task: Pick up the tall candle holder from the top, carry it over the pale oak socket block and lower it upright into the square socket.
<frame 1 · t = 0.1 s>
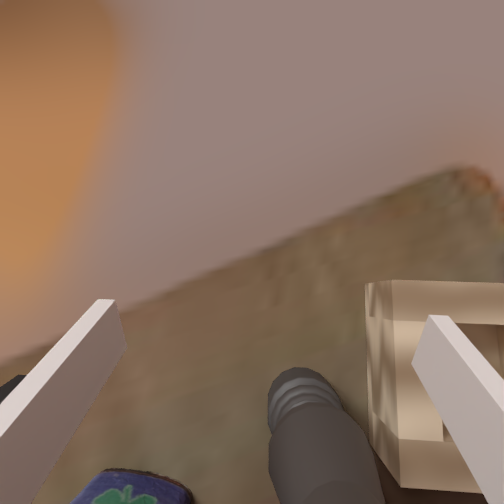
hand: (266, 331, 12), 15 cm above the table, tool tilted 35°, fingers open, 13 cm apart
candle holder: (300, 401, 26), on the table
socket block: (445, 363, 26), on the table
flask: (144, 487, 26), on the table
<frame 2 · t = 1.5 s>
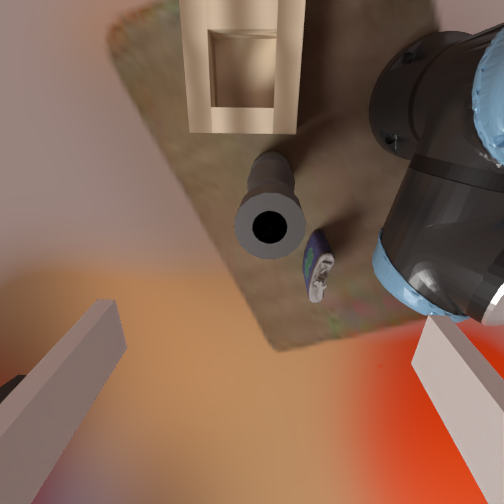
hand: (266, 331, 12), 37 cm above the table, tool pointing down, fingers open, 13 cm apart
candle holder: (271, 171, 45), on the table
socket block: (246, 76, 39), on the table
flask: (312, 252, 51), on the table
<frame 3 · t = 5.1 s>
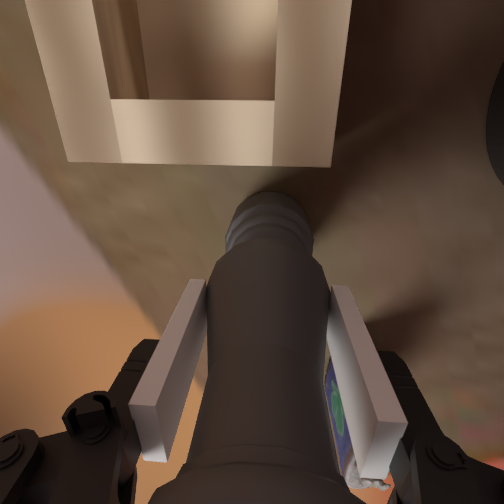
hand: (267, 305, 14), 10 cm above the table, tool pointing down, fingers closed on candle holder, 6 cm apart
candle holder: (269, 228, 23), on the table, touching gripper
socket block: (210, 28, 17), on the table
flask: (342, 360, 29), on the table
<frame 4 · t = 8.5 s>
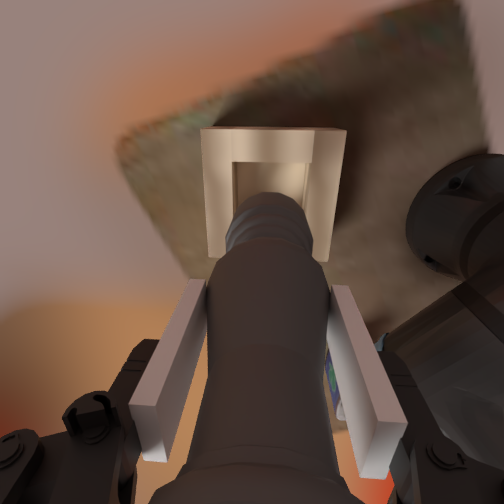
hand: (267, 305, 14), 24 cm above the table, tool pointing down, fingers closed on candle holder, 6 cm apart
candle holder: (269, 228, 23), point 14 cm above the table, touching gripper
socket block: (270, 187, 36), on the table
flask: (336, 350, 47), on the table
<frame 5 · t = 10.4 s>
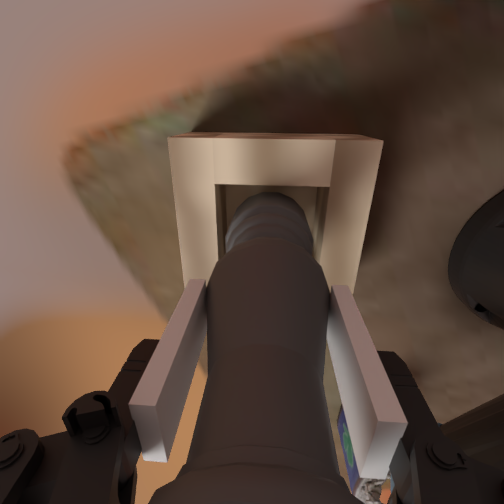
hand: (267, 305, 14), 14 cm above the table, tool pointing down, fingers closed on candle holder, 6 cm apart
candle holder: (269, 228, 23), point 4 cm above the table, touching gripper
socket block: (270, 213, 27), on the table
flask: (351, 406, 38), on the table
when the fingers open (12 cm above the table, at t = 12.1 s): candle holder drops 1 cm, resting on socket block.
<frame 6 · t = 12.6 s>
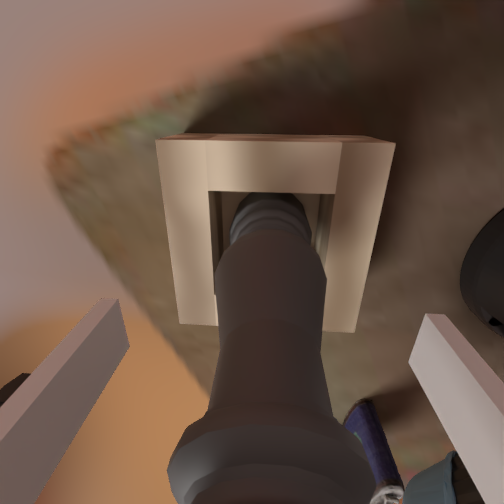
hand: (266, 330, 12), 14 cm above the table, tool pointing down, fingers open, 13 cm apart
candle holder: (270, 222, 24), point 1 cm above the table, touching socket block
socket block: (269, 220, 25), on the table
flask: (354, 420, 37), on the table
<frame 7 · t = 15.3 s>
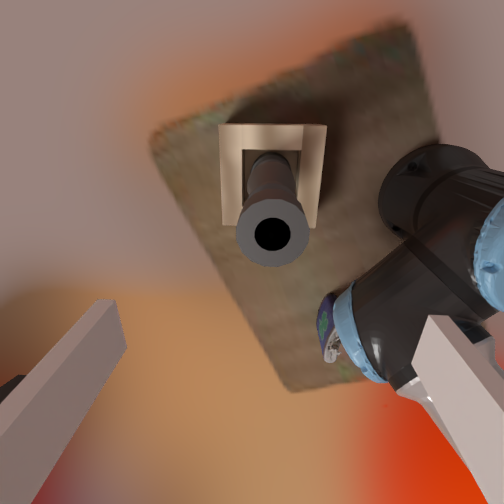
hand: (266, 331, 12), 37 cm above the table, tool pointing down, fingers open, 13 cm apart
candle holder: (270, 172, 44), point 1 cm above the table, touching socket block
socket block: (270, 171, 45), on the table
flask: (325, 310, 57), on the table
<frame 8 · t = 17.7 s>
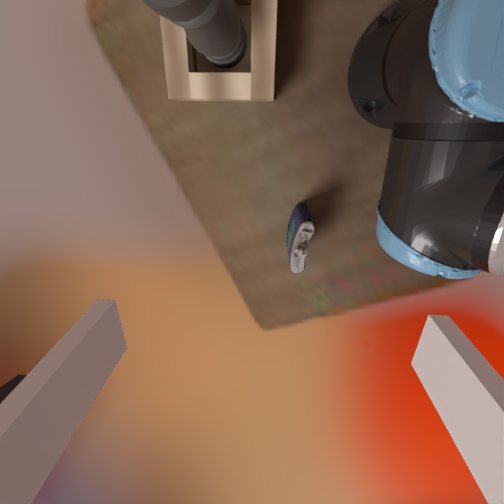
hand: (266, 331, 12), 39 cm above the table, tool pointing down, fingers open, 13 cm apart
candle holder: (225, 42, 39), point 1 cm above the table, touching socket block
socket block: (225, 44, 40), on the table
flask: (296, 226, 51), on the table
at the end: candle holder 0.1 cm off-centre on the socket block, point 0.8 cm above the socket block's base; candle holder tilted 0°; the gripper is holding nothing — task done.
